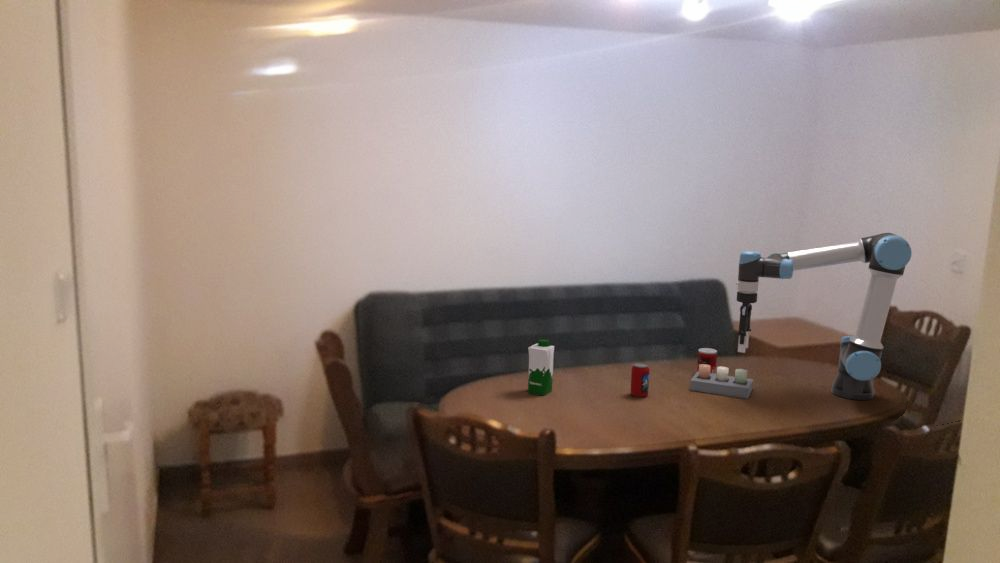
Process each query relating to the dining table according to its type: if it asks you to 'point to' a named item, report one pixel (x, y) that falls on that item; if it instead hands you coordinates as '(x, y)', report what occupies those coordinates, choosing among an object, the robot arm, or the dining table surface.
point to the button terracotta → (704, 371)
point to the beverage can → (640, 380)
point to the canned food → (707, 358)
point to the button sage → (740, 376)
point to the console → (721, 386)
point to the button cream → (722, 374)
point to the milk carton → (540, 368)
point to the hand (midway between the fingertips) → (742, 349)
